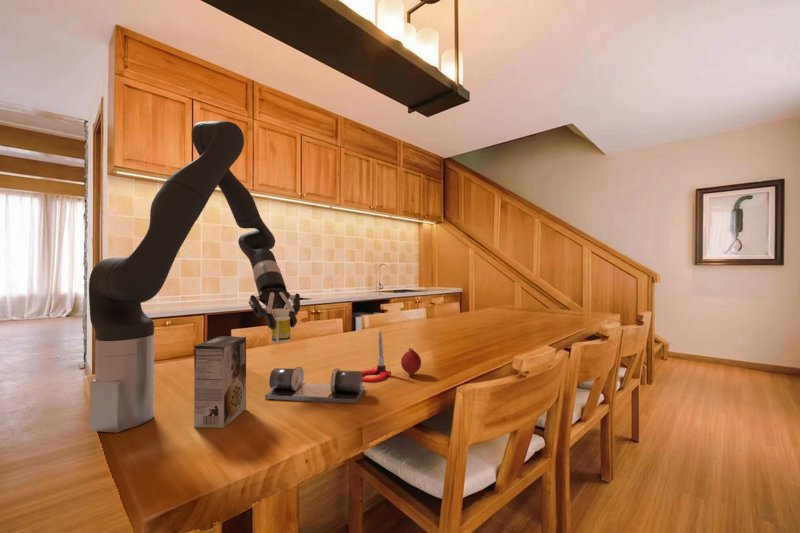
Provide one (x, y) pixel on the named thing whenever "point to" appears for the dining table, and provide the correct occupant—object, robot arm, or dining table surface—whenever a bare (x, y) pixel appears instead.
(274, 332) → the supplement bottle
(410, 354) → the onion
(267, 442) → the dining table surface
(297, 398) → the twin cylinder plate
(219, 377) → the coffee box
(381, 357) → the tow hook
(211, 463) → the dining table surface
